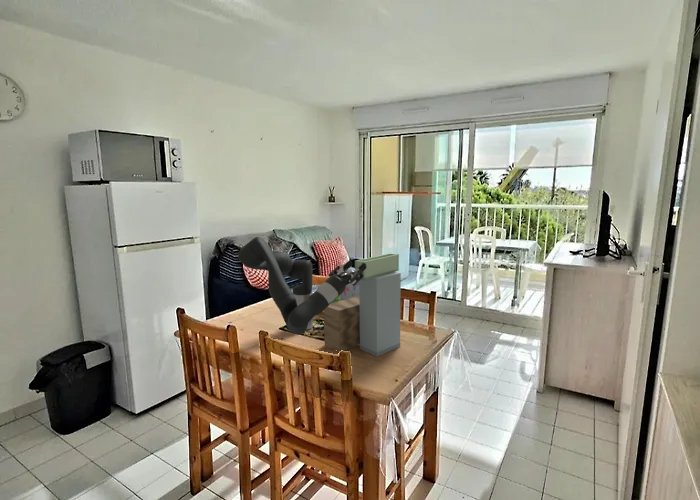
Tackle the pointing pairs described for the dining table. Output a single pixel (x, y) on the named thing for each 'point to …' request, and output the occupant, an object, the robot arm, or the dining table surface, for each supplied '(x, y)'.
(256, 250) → the robot arm
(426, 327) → the dining table surface
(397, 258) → the sage crate
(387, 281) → the block
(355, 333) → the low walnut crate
